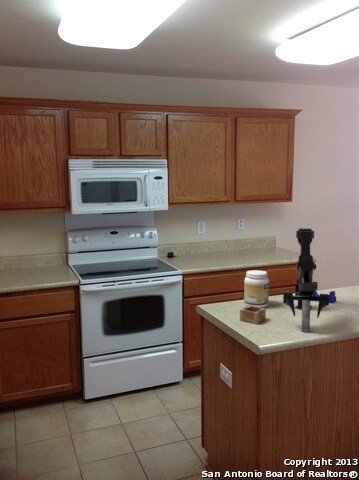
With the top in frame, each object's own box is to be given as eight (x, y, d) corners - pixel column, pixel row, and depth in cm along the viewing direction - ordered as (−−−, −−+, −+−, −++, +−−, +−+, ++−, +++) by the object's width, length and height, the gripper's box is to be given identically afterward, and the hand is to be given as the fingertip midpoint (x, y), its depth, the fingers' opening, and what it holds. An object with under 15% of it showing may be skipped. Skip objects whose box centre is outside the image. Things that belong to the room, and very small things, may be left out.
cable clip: (336, 302, 214) (336, 290, 213) (332, 304, 211) (332, 292, 210) (314, 297, 223) (314, 286, 222) (310, 299, 219) (310, 288, 219)
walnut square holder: (248, 315, 195) (248, 305, 194) (265, 319, 190) (265, 308, 189) (240, 320, 188) (240, 310, 188) (256, 324, 183) (256, 313, 182)
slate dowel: (303, 329, 176) (304, 299, 175) (310, 330, 175) (311, 300, 173) (300, 331, 174) (301, 301, 172) (307, 333, 172) (308, 302, 170)
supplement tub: (268, 309, 204) (269, 275, 201) (243, 308, 206) (243, 274, 204) (268, 302, 216) (268, 269, 213) (244, 301, 218) (244, 269, 216)
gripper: (283, 273, 177) (282, 306, 168) (330, 275, 172) (332, 309, 163) (283, 286, 186) (282, 318, 177) (327, 288, 181) (329, 321, 172)
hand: (306, 317), depth 172 cm, fingers open, 9 cm apart
